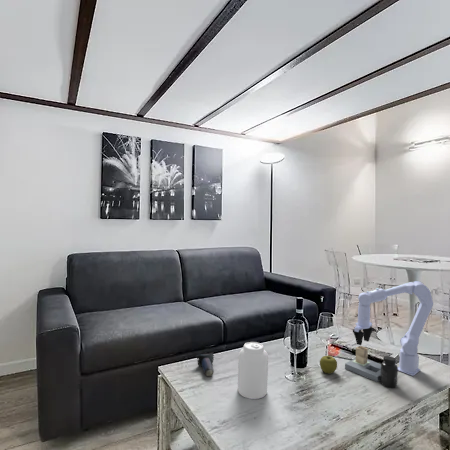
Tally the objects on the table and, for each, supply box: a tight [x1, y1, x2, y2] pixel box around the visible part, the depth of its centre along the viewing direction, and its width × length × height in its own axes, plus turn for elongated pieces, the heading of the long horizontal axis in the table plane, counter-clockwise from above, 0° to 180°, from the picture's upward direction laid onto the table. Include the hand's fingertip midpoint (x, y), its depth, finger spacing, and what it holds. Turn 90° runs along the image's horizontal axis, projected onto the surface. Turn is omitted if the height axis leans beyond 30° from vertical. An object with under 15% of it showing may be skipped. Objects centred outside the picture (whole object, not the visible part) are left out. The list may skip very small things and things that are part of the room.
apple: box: [319, 355, 338, 375], centre depth 154 cm, size 8×8×7 cm
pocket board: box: [344, 357, 381, 383], centre depth 157 cm, size 14×16×3 cm
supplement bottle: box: [379, 355, 399, 389], centre depth 144 cm, size 7×7×12 cm
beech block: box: [355, 345, 369, 364], centre depth 160 cm, size 4×4×7 cm
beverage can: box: [195, 351, 215, 377], centre depth 153 cm, size 9×8×12 cm
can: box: [237, 341, 269, 400], centre depth 135 cm, size 12×12×20 cm
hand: (362, 342), depth 165 cm, fingers open, 7 cm apart
